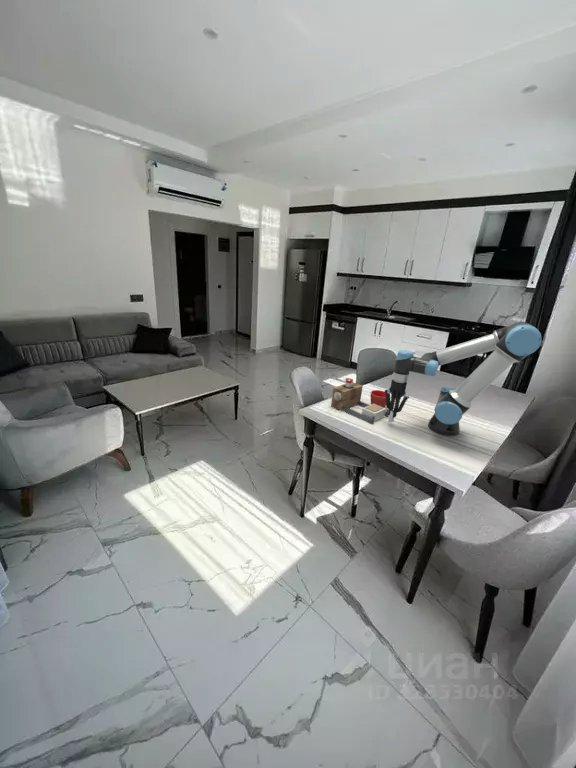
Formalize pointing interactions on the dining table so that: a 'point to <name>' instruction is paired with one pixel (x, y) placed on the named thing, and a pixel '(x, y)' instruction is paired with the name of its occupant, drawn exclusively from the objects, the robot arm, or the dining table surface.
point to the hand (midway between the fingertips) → (390, 421)
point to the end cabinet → (346, 396)
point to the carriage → (374, 411)
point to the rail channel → (361, 416)
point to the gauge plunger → (348, 383)
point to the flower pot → (378, 398)
